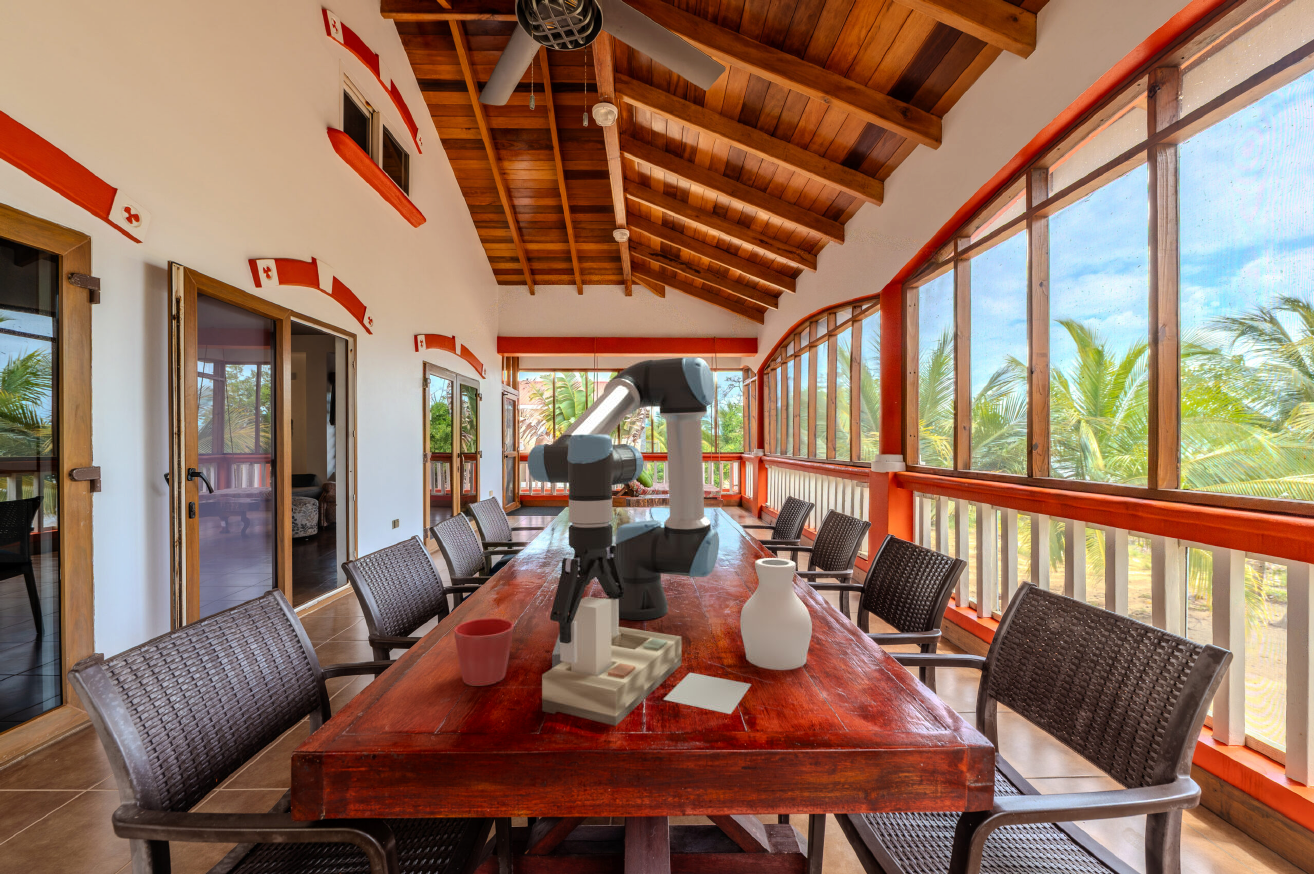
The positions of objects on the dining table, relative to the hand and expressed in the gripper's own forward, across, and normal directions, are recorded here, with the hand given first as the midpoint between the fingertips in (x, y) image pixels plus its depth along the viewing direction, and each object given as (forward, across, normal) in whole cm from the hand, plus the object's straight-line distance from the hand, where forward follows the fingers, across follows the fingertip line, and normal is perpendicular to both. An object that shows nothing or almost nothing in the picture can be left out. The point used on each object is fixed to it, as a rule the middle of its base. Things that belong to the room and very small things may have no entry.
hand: (591, 647), depth 97 cm
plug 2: (+7, 0, 0) cm, 7 cm away
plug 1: (+9, -12, -13) cm, 20 cm away
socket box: (+9, -6, +2) cm, 11 cm away
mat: (+9, -10, +18) cm, 22 cm away
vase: (+10, -30, +24) cm, 40 cm away
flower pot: (+10, 0, -24) cm, 25 cm away
